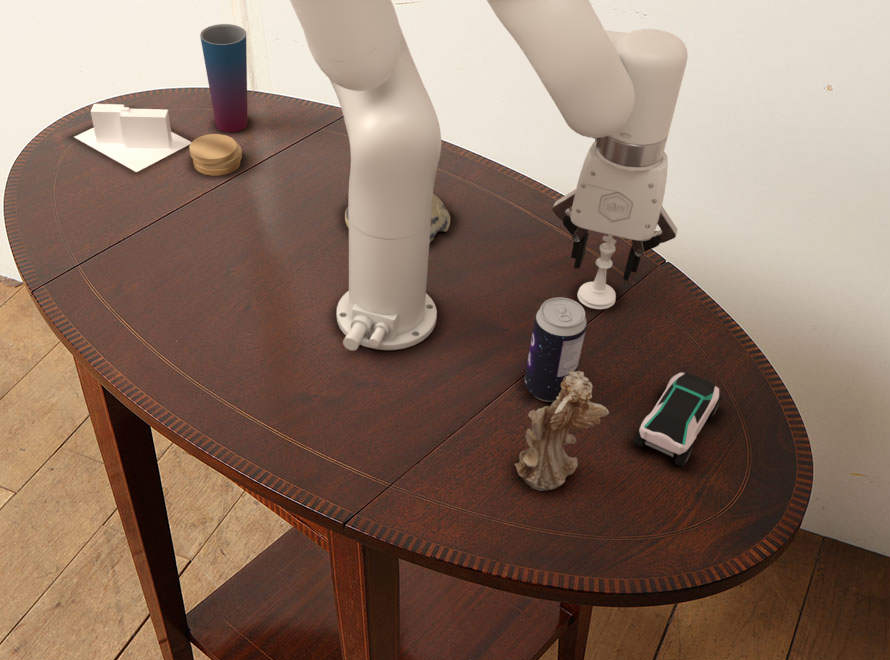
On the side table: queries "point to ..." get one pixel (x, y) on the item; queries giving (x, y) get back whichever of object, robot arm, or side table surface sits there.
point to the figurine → (558, 433)
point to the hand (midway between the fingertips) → (603, 267)
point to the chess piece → (600, 280)
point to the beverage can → (554, 346)
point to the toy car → (679, 416)
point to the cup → (227, 74)
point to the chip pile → (215, 154)
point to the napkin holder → (132, 135)
